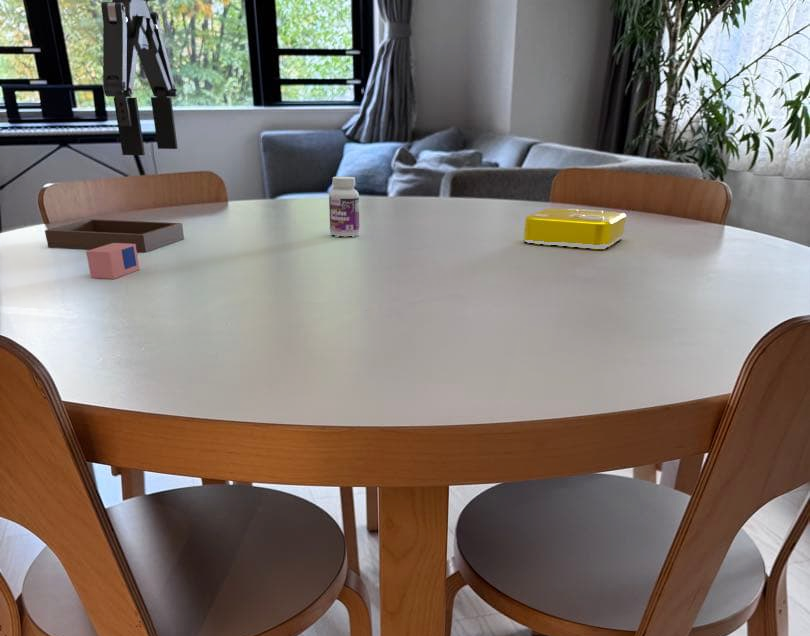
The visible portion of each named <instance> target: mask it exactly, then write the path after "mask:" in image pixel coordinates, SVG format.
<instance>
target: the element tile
mask: <svg viewBox="0 0 810 636" xmlns="http://www.w3.org/2000/svg"><path fill="white" fill-rule="evenodd" d="M626 218H627V215H626V214H625V213H624V212H618V211H617V212H616V211H603V210H594V209H583V208H582V209H581V208H579V209H577V208H557V207H549V208H546V209H543V210H540V211H538V212H535V213H533V214H532V213H531V214H530V215H527V216H525V220H524V221H525V222H524V233H523V234H524V235H523V240H524V239H526V240H533V241H544V242H566V243H567V242H568V243H582V244H593V245H600V244H601V245H602V244H609V243H611V242H612V241H614V240H615V239H616V238H618V237H619V236H621V235H622V234H623V235H624V232H625V225H626ZM526 244H528V245H530V244H529V243H526ZM533 246H541V245H540V244H533ZM544 246H545V247H552V246H551V245H544ZM555 247H556V248H557V247H558V248H564V247H563V246H555ZM567 248H568V249H569V248H571V249H575V248H574V247H567ZM609 248H610V249H611V247H609ZM609 248H608V249H609ZM578 249H582V250H587V249H586V248H578ZM590 250H593V251H604V250H606V249H590Z"/></svg>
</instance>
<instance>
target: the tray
mask: <svg viewBox="0 0 810 636" xmlns="http://www.w3.org/2000/svg"><path fill="white" fill-rule="evenodd" d="M184 234H185V233H184V227H183V223H182V222H164V221H141V220H123V219H121V220H119V219H99V218H98V219H96V218H90V219H85V220H82V221H78V222H74V223H70V224H66V225H62V226H56V227H53V228H49V229H45V230H44V235H45V239H46V244H47V248H56V249H57V248H59V249H74V250H92V249H95V248H98V247H101V246H105V245H108V244H111V243H126V244H136V250H137V253H147V252H150V251H155V250H157V249H159V248H162V247H165V246H169V245H171V244H173V243H176V242H180V241H183V240H184V239H185V235H184Z"/></svg>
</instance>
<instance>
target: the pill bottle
mask: <svg viewBox="0 0 810 636" xmlns="http://www.w3.org/2000/svg"><path fill="white" fill-rule="evenodd" d="M331 180H332V187H333V188H332V189H331V190H330V191H329V194H328V202H329V203H328V204H329V205H328V206H329V208H328V209H329V234H330V236H332V235H335V236H334V237H335V238H340V237H339V236H352V237H351V238H355V237H358V236H359V235H360V194H359V192H358V190H357V189H355V187H356V177H354V176H344V175H343V176H333V177H332V179H331ZM358 234H359V235H358ZM353 235H357V236H353Z"/></svg>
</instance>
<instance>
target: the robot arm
mask: <svg viewBox="0 0 810 636" xmlns="http://www.w3.org/2000/svg"><path fill="white" fill-rule="evenodd" d="M153 1H155V0H111V1H102V2H101V3H100V7H101V15H102V16H101V17H102V22H103V25H102V26H103V28H102V29H103V33H102V34H103V35H102V37H103V39H102V40H103V43H102V44H103V45H102V57H103V58H102V64H103V65H102V85H103V92H104V95H105V97H108V98H111V97H113V104H114V109H115V110H114V111H115V116H116V123H117V128H118V134H119V135H118V136H119V142H120V146H121V154H122V156H145V155H146V151H145V146H144V139H143V138H144V137H143V133H142V126H141V119H140V112H139V105H138V104H139V103H138V98H137V97H133V95H134V87H135V86H134V85H135V80H136V79H135V78H136V70H137V62H138V59H139V62H140V63H141V66H142V69H143V72H144V74H145V76H146V80H147V82H148V84H149V85H148V86H149V87H150V90H151V92H152V96H151V97H150V102H151V110H152V116H153V123H154V131H155V137H156V144H157V149H158V150H178V149H179V148H178V140H177V133H176V125H175V117H174V116H175V115H174V109H173V101H172V100H173V99H172V98H177V97H178V90H177V88H176V83H175V80H174V77H173V73H172V69H171V68H172V67H171V64H170V61H169V56H168V52H167V49H166V45H165V41H164V37H163V34H162V28H161V21H160V15H159V13H158V12H157V11H150V10H149V6H148V2H153Z"/></svg>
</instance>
